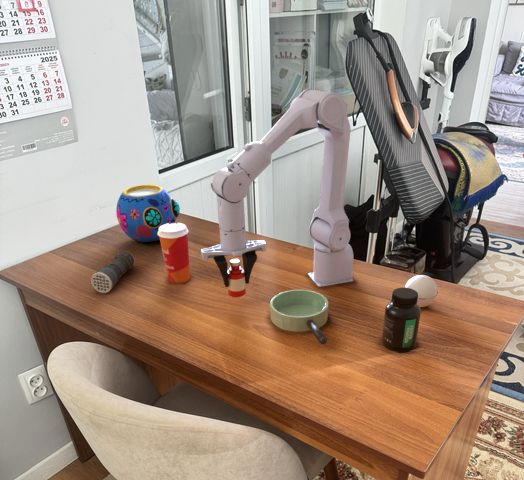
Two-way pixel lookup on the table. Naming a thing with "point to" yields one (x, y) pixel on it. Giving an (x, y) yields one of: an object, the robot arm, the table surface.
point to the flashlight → (112, 272)
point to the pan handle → (316, 332)
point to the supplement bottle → (401, 321)
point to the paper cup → (175, 251)
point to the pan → (298, 309)
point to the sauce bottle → (236, 279)
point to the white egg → (423, 289)
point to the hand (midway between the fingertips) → (236, 283)
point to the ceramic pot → (145, 211)
